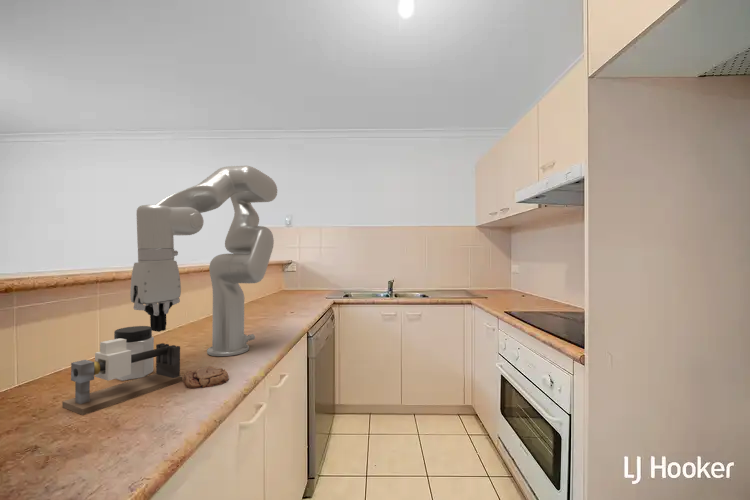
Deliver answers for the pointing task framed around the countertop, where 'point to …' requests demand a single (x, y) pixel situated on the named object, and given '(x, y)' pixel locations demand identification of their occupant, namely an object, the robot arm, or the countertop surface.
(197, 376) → the cookie
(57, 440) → the countertop surface
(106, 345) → the sleeve
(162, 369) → the comb rig
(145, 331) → the jar
